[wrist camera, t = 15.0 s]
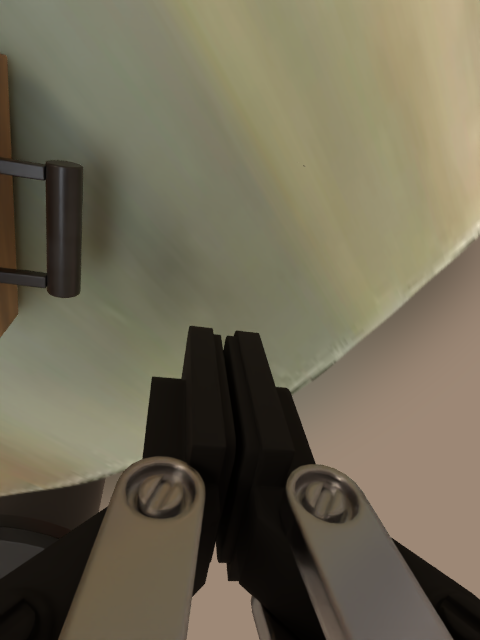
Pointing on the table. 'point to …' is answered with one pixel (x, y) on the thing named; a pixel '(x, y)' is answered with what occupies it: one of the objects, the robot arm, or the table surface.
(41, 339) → the table surface
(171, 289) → the table surface
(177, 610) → the robot arm
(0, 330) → the drawer
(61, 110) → the table surface
